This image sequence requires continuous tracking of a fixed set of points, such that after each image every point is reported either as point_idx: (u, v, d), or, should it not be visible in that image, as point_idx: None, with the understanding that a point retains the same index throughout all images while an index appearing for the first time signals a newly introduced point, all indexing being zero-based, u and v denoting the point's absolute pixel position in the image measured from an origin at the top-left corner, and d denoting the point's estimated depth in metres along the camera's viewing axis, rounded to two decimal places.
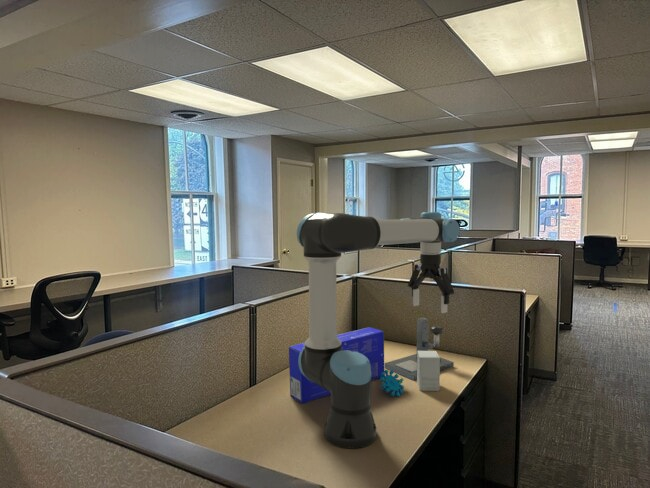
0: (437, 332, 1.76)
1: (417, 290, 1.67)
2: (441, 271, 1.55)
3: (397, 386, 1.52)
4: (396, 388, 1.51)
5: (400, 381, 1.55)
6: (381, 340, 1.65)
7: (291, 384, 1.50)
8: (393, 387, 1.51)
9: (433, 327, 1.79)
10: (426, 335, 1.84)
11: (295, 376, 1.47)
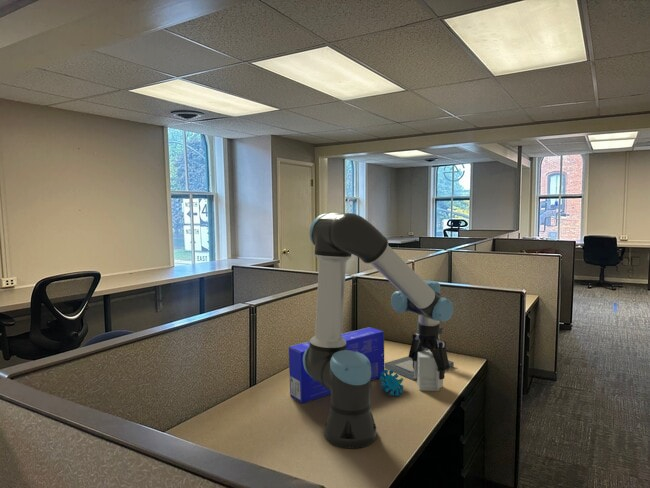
0: None
1: None
2: (439, 345, 1.51)
3: (396, 386, 1.52)
4: (395, 388, 1.51)
5: (400, 381, 1.55)
6: (381, 340, 1.65)
7: (290, 384, 1.50)
8: (392, 387, 1.51)
9: None
10: None
11: (295, 376, 1.47)
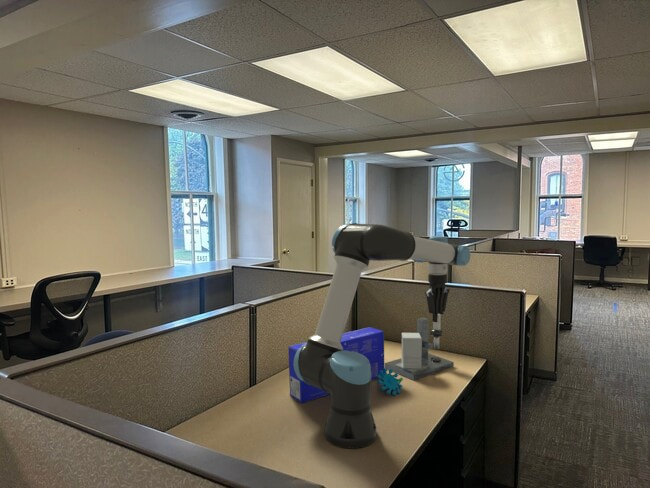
0: (437, 334, 1.76)
1: None
2: None
3: (395, 385, 1.53)
4: (393, 387, 1.52)
5: (399, 380, 1.55)
6: (381, 340, 1.65)
7: (290, 383, 1.50)
8: (390, 386, 1.52)
9: (433, 329, 1.79)
10: (426, 335, 1.84)
11: (294, 375, 1.47)
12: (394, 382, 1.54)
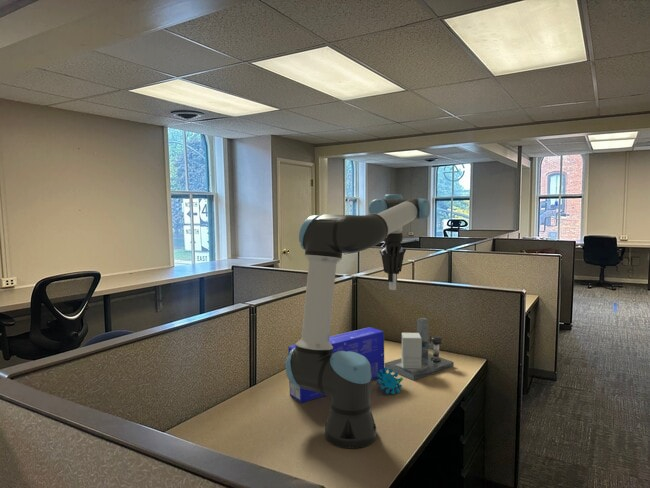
0: (437, 342, 1.77)
1: None
2: None
3: (394, 384, 1.53)
4: (392, 386, 1.53)
5: (399, 380, 1.56)
6: (381, 340, 1.65)
7: (290, 383, 1.50)
8: (389, 385, 1.52)
9: (433, 337, 1.79)
10: (426, 335, 1.84)
11: None
12: (393, 382, 1.54)
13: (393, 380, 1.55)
